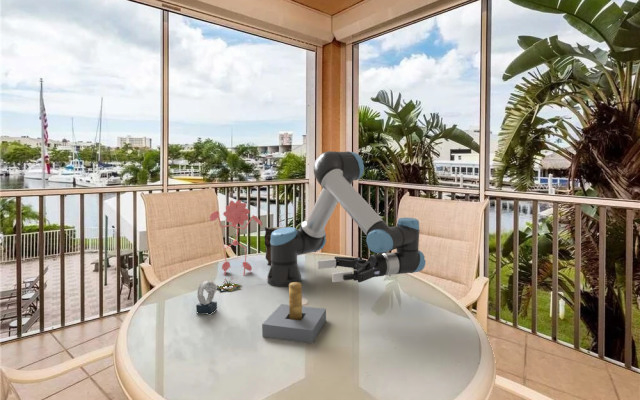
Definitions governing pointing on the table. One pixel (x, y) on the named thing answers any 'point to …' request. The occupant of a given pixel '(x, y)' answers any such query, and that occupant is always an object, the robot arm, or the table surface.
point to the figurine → (235, 215)
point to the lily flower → (229, 285)
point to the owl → (267, 242)
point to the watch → (207, 304)
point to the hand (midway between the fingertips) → (324, 270)
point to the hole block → (294, 324)
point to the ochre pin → (295, 301)
